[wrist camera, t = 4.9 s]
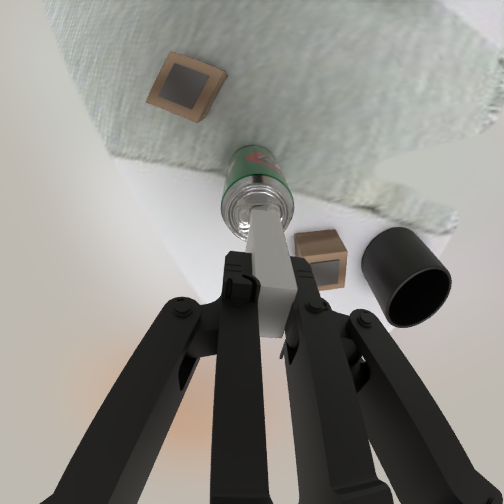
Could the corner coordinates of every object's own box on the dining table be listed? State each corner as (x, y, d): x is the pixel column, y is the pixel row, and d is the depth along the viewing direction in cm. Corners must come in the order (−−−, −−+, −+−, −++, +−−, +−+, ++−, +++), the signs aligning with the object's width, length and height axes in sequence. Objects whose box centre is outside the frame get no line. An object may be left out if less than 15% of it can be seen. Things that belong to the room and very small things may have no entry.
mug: (362, 303, 39) (382, 348, 32) (358, 236, 33) (387, 281, 25) (415, 285, 38) (441, 326, 30) (420, 219, 32) (457, 256, 24)
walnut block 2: (294, 233, 33) (302, 257, 28) (334, 229, 32) (348, 252, 28) (295, 267, 35) (302, 294, 31) (333, 262, 35) (344, 288, 31)
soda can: (224, 149, 27) (211, 186, 17) (273, 140, 27) (292, 172, 17) (233, 193, 30) (228, 253, 20) (280, 186, 29) (300, 242, 19)
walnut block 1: (182, 57, 22) (169, 50, 17) (227, 75, 23) (223, 71, 19) (161, 100, 24) (144, 102, 19) (204, 117, 25) (196, 123, 21)
